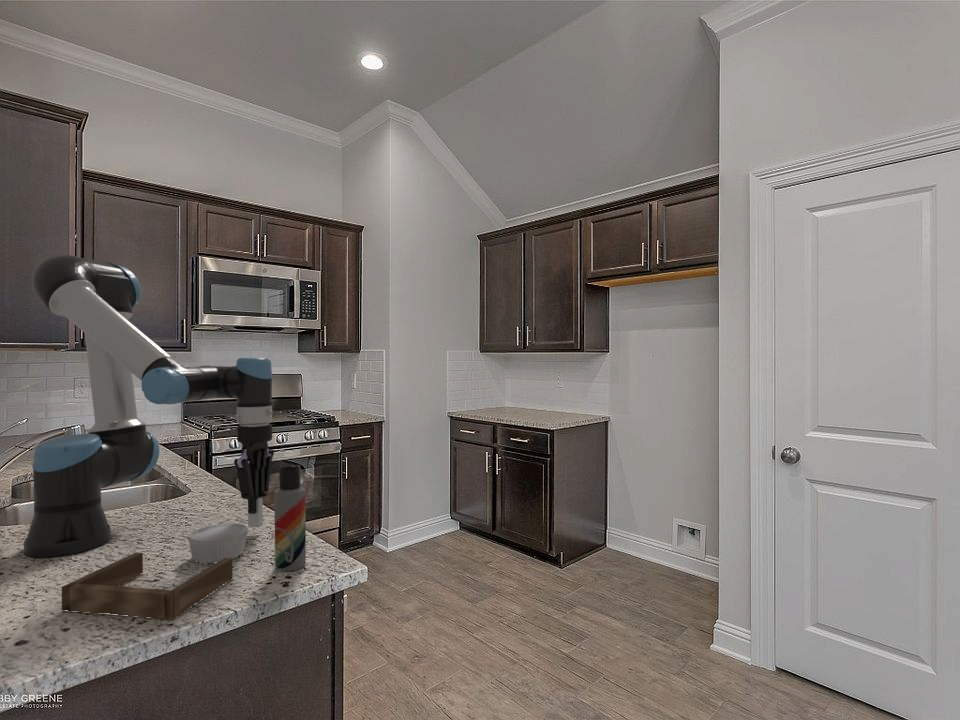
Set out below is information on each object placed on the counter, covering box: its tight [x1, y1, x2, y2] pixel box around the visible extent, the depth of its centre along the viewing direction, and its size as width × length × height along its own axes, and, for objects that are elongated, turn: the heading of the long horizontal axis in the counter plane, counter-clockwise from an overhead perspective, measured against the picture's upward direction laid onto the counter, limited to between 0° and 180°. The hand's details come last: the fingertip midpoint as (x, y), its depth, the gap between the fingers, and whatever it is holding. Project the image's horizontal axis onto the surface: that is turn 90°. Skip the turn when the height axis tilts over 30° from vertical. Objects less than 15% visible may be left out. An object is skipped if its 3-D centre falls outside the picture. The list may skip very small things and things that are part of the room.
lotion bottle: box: [274, 464, 307, 572], centre depth 104 cm, size 6×6×20 cm
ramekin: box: [187, 522, 249, 563], centre depth 110 cm, size 11×11×5 cm
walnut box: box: [61, 552, 233, 620], centre depth 92 cm, size 20×15×4 cm
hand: (255, 525), depth 124 cm, fingers closed
